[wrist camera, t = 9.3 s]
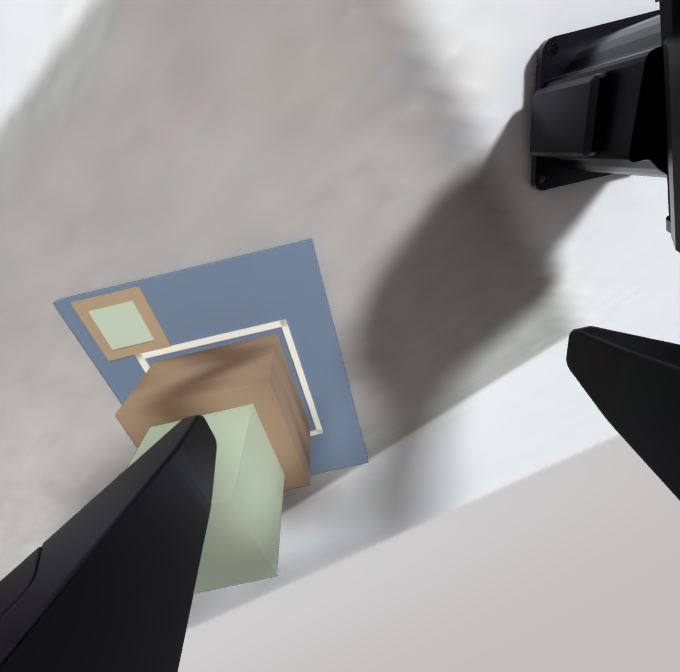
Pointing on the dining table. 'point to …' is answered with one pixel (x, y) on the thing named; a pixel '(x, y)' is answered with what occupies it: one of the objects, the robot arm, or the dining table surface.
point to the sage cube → (237, 500)
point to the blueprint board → (229, 333)
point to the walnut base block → (227, 397)
